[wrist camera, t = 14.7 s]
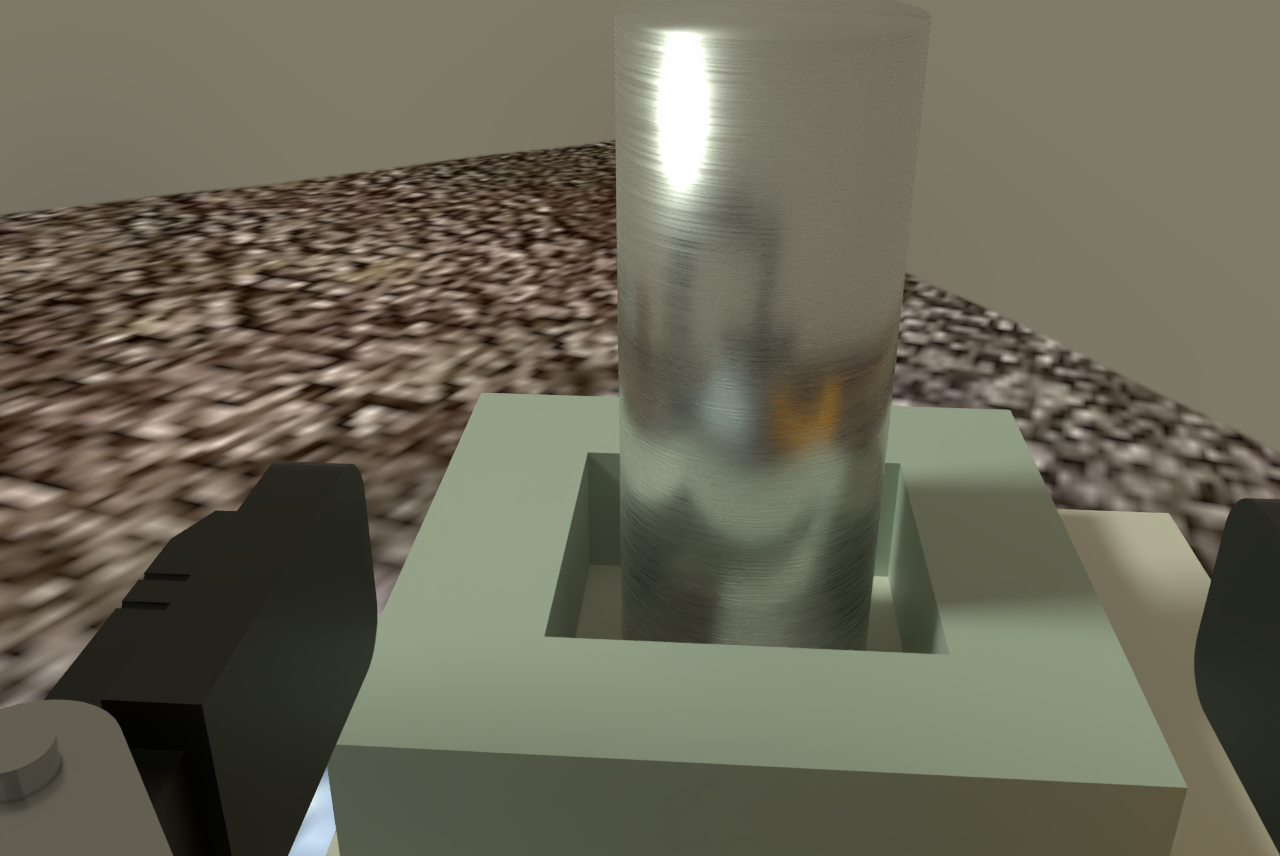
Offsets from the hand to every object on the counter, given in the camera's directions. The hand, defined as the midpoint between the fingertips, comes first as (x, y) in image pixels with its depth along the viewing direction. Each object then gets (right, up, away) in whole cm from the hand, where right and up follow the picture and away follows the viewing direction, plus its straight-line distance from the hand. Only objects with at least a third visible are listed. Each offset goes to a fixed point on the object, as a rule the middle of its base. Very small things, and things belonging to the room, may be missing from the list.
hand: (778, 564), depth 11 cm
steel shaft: (+1, -4, +14) cm, 14 cm away
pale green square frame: (+3, -5, +14) cm, 15 cm away
